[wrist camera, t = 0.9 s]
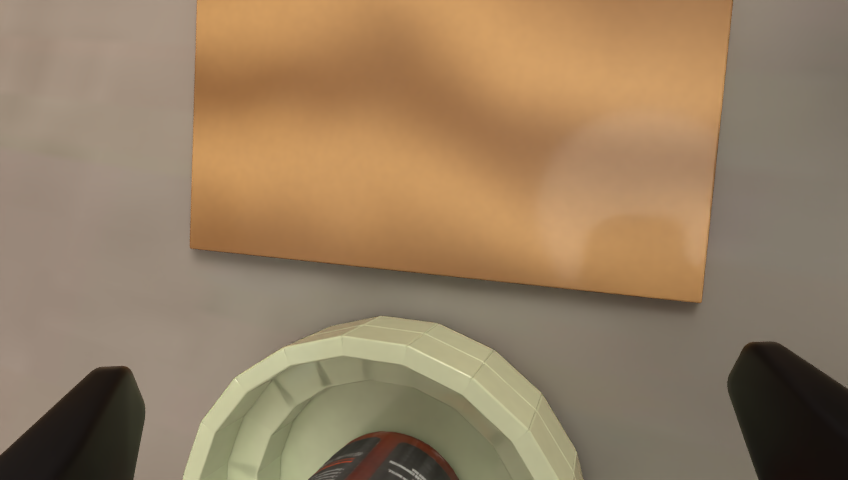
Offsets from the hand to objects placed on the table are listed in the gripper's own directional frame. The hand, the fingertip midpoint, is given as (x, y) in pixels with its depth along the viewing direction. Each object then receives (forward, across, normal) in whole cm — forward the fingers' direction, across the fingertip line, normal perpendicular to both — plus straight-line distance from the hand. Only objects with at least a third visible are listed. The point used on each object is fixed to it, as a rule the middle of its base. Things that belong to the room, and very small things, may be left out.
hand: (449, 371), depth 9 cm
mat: (+15, -1, +3) cm, 15 cm away
